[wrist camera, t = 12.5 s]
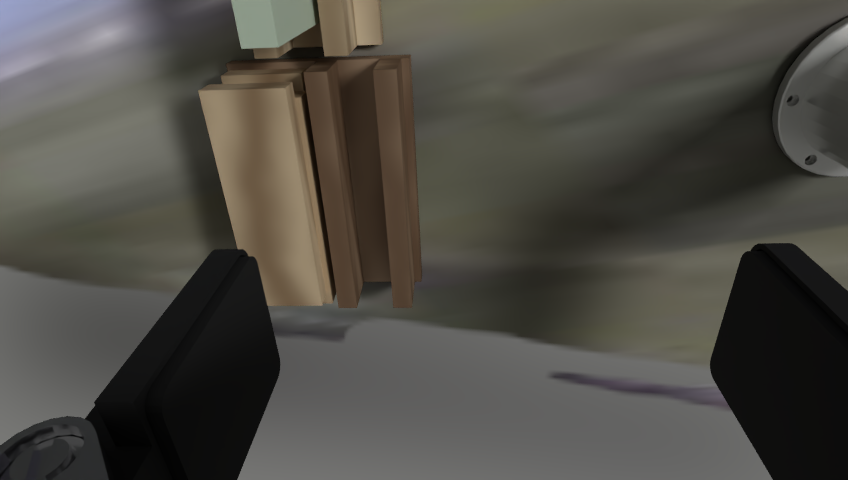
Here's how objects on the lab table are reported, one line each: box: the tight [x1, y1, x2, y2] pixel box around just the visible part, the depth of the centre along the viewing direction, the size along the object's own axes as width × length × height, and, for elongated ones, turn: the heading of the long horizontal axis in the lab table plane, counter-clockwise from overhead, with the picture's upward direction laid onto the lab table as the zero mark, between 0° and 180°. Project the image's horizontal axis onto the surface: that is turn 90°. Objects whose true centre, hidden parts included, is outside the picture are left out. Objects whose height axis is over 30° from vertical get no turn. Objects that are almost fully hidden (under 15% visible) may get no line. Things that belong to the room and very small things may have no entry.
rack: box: [198, 55, 422, 308], centre depth 43 cm, size 14×20×7 cm
